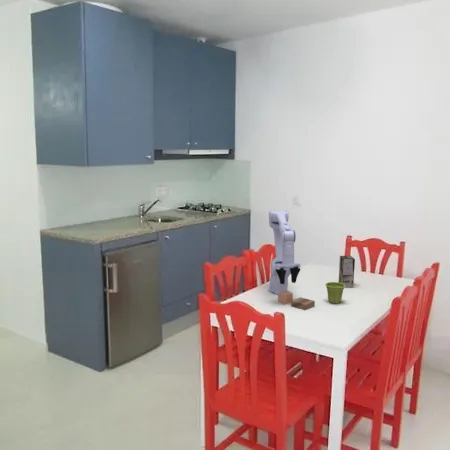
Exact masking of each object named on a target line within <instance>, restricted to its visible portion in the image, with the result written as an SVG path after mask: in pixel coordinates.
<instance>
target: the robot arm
mask: <svg viewBox="0 0 450 450" xmlns="http://www.w3.org/2000/svg"><path fill="white" fill-rule="evenodd" d="M289 217H290V216H289V212H288V210H287V209H286V210H269V212H268V225H269V227H270V228H271V229H272V231H273V238H274V249H275V258H274V259H272V261H271V263H270V264H271V266H270V268H271V269H270V272H271V275H270V277H269V289H268V291H267V292H271V293H273V294H276V295H278V292H281V291H288V292H291V291H290V290H289V289H288V287H289V286H288V283H289V276H290V278H291V279H290V280H291V283H293V284H296V282H297V278H298V276H299V274H300V271H301V263H295V243H296V240H297V239H296V237H297V236H296V231H295V230H294V229H292V227H291V225H290V223H289V222H288V221H289Z"/></svg>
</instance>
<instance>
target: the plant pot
mask: <svg viewBox="0 0 450 450" xmlns="http://www.w3.org/2000/svg"><path fill="white" fill-rule="evenodd" d="M325 286H326V291H327V300H328V303H333V304H340V303H341V302H342V298H343V293H344V290H345V288H344V287H345V285H344V284H342V283H339V281H338V282H337V281H329V282H326V283H325Z"/></svg>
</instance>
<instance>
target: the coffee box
mask: <svg viewBox="0 0 450 450" xmlns="http://www.w3.org/2000/svg"><path fill="white" fill-rule="evenodd" d="M355 264H356V259H355V258H354V257H353V256H351V255H339V265H338V266H339V267H338V283H342V284H344V285H345V287H344V289H346V288H347V289H352V288H354V281H355V280H354V279H355Z"/></svg>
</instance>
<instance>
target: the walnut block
mask: <svg viewBox="0 0 450 450" xmlns="http://www.w3.org/2000/svg"><path fill="white" fill-rule="evenodd" d="M315 305H316V301H315V300H312V299H309V298H305V297H297V298H295V299H293V300H292V301H291V303H290V307H293V308H297V309H300V310H302V311H307V310H309V309H311V308H314V307H315Z"/></svg>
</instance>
